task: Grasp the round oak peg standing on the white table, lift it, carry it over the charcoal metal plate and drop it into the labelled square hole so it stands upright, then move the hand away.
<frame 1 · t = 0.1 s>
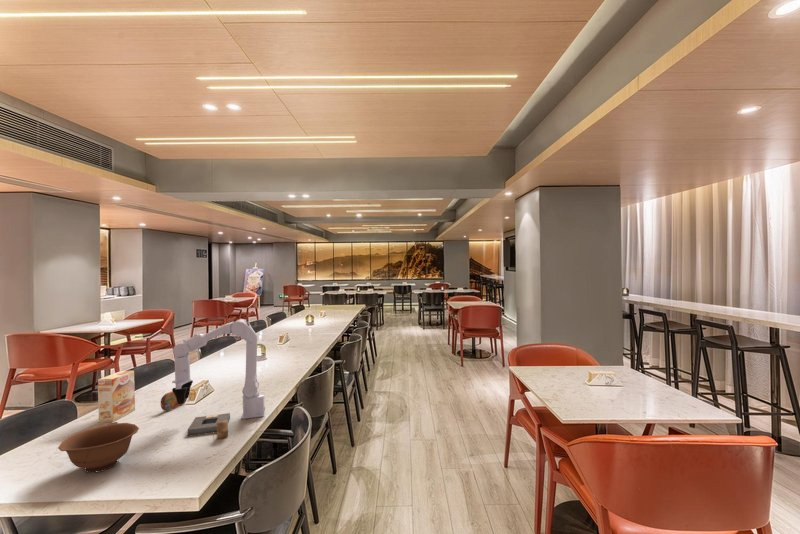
hand: (183, 400, 169), 10 cm above the table, tool pointing down, fingers open, 7 cm apart
plate: (209, 426, 165), on the table
bowl: (101, 466, 134), on the table
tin: (174, 408, 191), on the table
coffeecake box: (117, 416, 182), on the table
peg: (222, 437, 155), on the table
pottery mug: (113, 441, 154), on the table
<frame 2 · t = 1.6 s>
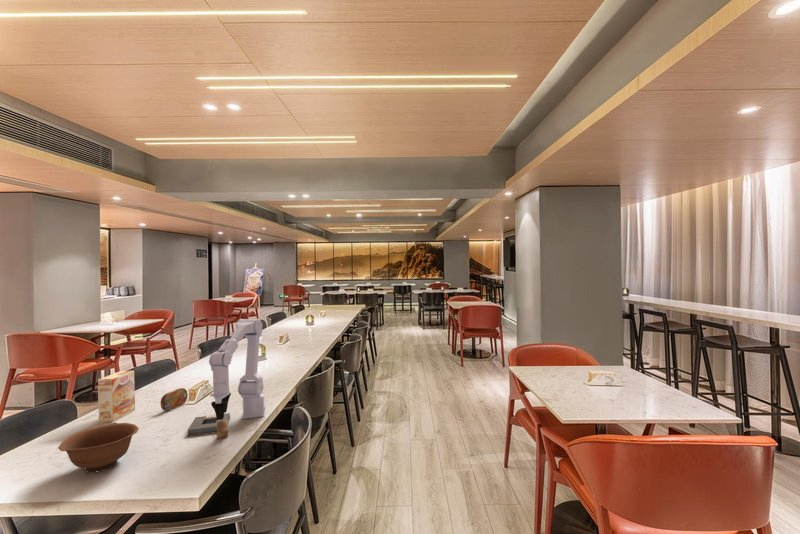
hand: (222, 415, 155), 8 cm above the table, tool pointing down, fingers open, 7 cm apart
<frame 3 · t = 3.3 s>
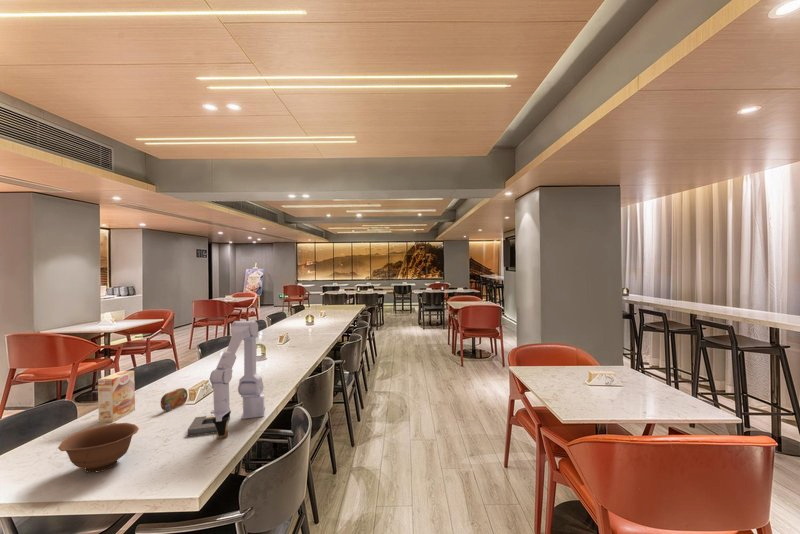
hand: (222, 432, 155), 2 cm above the table, tool pointing down, fingers closed on peg, 4 cm apart
peg: (222, 437, 155), on the table, touching gripper
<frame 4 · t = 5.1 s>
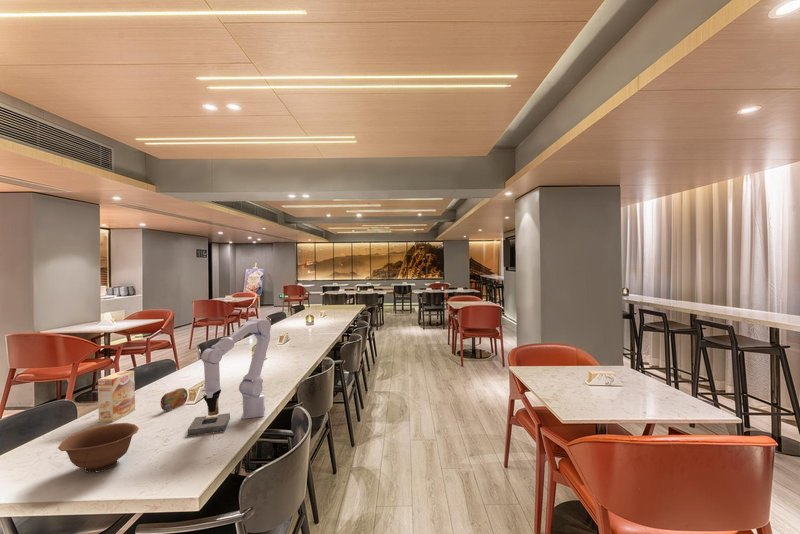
hand: (213, 409, 162), 8 cm above the table, tool pointing down, fingers closed on peg, 4 cm apart
peg: (213, 413, 162), point 7 cm above the table, touching gripper
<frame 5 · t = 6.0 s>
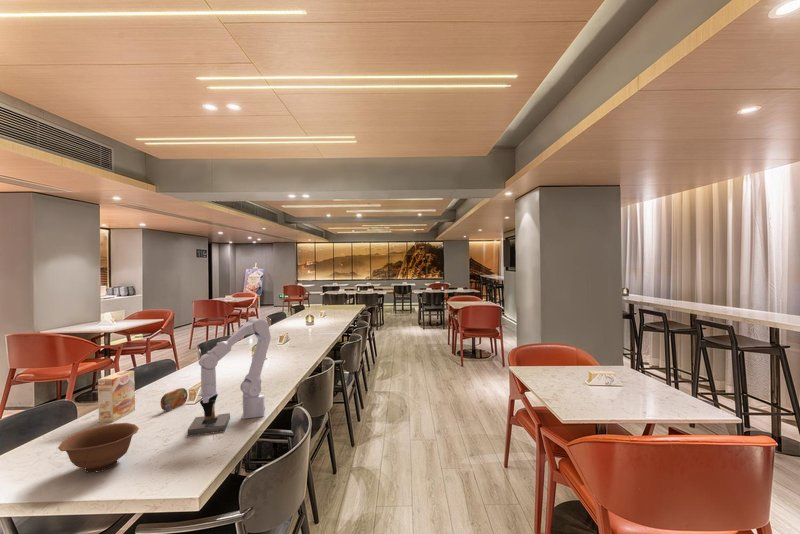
hand: (209, 414, 165), 5 cm above the table, tool pointing down, fingers closed on peg, 4 cm apart
peg: (209, 418, 165), point 4 cm above the table, touching gripper
when the fingers open (5 cm above the table, at t = 6.9 s): peg drops 3 cm, resting in plate.
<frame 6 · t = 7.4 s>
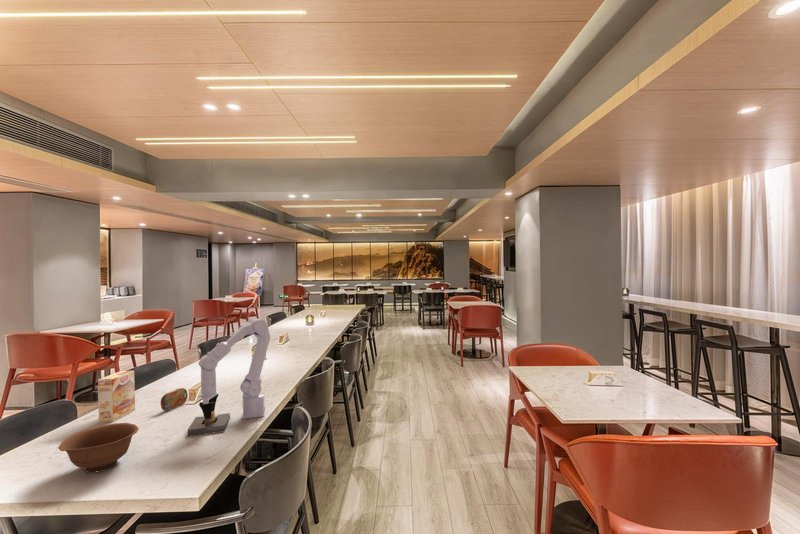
hand: (209, 415, 165), 5 cm above the table, tool pointing down, fingers open, 7 cm apart
peg: (210, 427, 165), resting in plate
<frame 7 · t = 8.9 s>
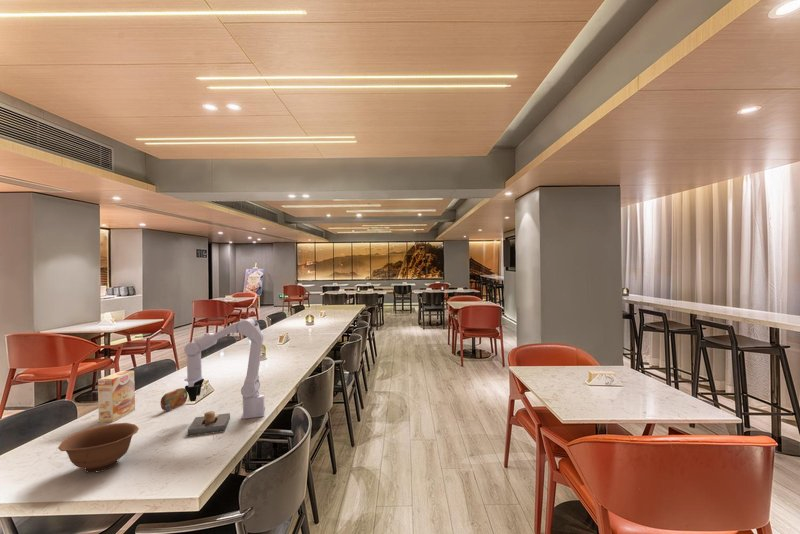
hand: (195, 398, 175), 9 cm above the table, tool pointing down, fingers open, 7 cm apart
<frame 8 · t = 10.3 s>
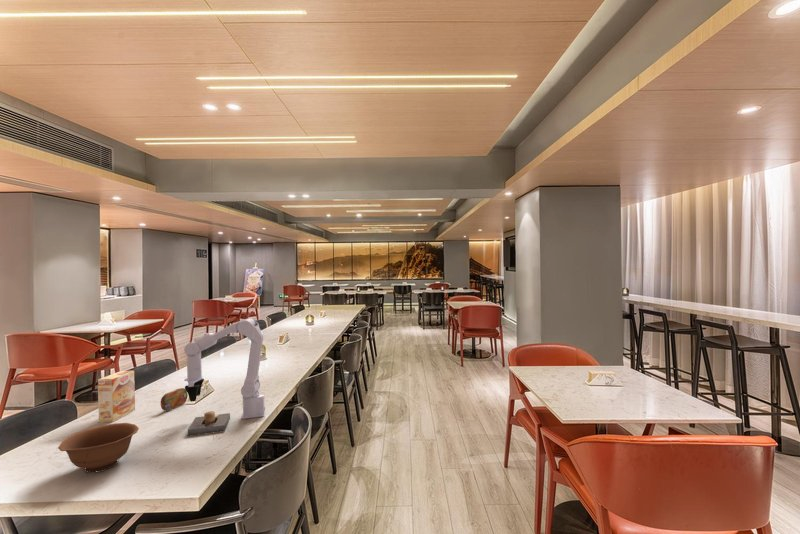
hand: (195, 398, 175), 9 cm above the table, tool pointing down, fingers open, 7 cm apart
at the end: peg 0.0 cm off-centre on the plate, point 0.0 cm above the plate's base; peg tilted 0°; the gripper is holding nothing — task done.
